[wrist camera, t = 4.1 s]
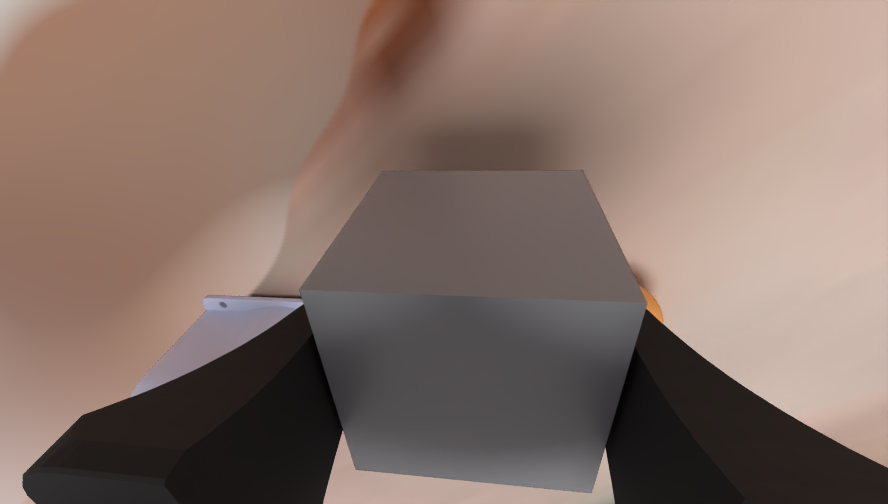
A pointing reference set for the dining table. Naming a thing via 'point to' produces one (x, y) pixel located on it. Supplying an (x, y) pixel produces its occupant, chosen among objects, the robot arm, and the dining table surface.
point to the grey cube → (477, 327)
